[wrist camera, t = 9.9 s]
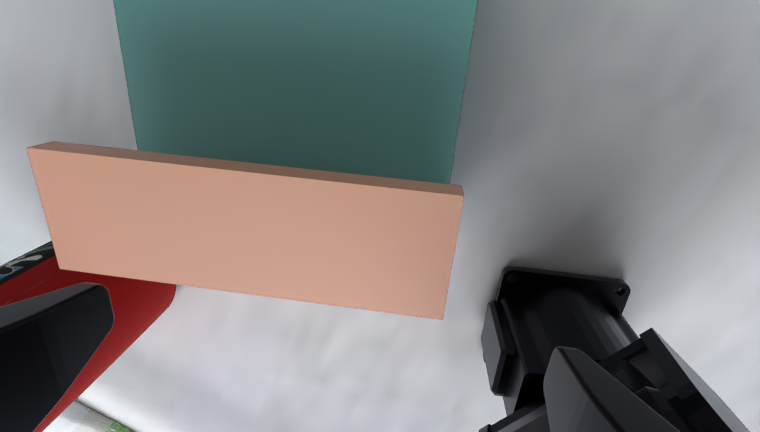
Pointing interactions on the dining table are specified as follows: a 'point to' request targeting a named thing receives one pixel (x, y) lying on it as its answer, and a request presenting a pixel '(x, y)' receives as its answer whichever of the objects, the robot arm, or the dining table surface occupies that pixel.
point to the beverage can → (128, 297)
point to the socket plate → (276, 152)
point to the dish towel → (83, 421)
